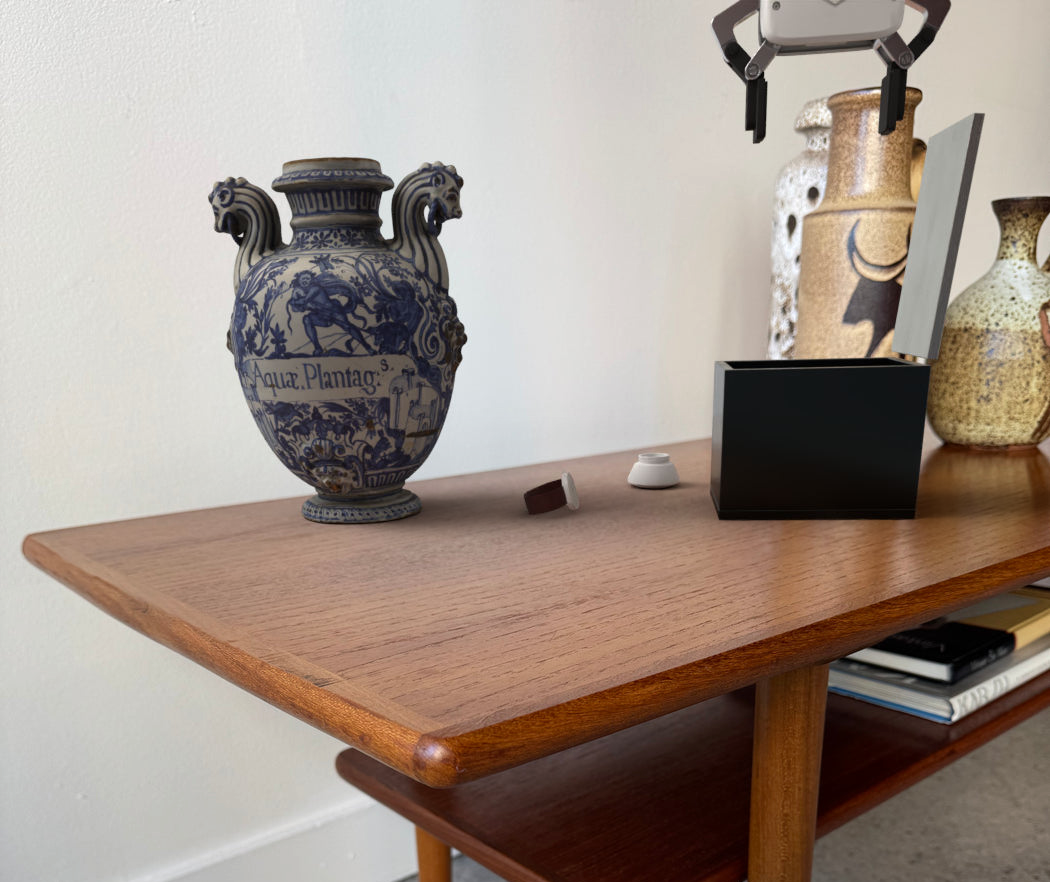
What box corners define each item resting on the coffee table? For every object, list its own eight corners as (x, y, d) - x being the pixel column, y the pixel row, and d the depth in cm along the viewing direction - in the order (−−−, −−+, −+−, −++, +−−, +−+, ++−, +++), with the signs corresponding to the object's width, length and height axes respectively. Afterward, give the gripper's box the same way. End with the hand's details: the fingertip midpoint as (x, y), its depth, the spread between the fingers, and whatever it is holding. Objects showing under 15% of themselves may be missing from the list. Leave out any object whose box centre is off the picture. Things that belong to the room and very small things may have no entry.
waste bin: (718, 520, 86) (724, 370, 81) (709, 493, 97) (714, 360, 93) (914, 518, 84) (931, 365, 80) (881, 491, 96) (894, 356, 91)
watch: (570, 520, 87) (569, 476, 86) (515, 519, 88) (514, 476, 87) (584, 503, 94) (584, 463, 93) (533, 503, 95) (532, 462, 94)
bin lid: (973, 112, 73) (985, 113, 73) (928, 137, 85) (938, 138, 85) (926, 359, 80) (937, 359, 79) (890, 351, 91) (899, 351, 91)
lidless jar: (640, 480, 105) (619, 488, 101) (641, 450, 104) (619, 457, 100) (687, 483, 103) (667, 491, 99) (687, 452, 102) (667, 459, 98)
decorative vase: (203, 534, 86) (150, 154, 76) (286, 494, 103) (251, 180, 93) (455, 535, 83) (435, 139, 73) (497, 494, 100) (485, 168, 90)
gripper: (716, -142, 72) (711, 137, 78) (978, -166, 70) (952, 122, 76) (710, -103, 79) (706, 151, 85) (947, -124, 77) (926, 137, 83)
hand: (822, 137), depth 80 cm, fingers open, 9 cm apart
